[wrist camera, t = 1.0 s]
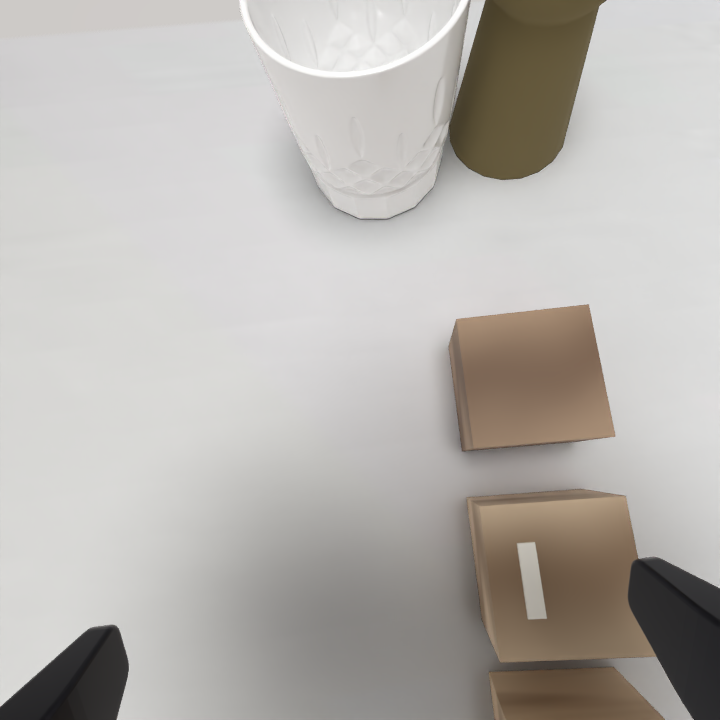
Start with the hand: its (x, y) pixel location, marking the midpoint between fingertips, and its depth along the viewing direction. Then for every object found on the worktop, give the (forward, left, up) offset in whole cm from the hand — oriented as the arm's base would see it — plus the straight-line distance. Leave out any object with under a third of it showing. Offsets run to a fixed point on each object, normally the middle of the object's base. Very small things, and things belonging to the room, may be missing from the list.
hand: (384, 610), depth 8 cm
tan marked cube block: (-2, -5, -13) cm, 15 cm away
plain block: (+5, -5, -13) cm, 15 cm away
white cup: (+18, 0, -13) cm, 23 cm away
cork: (+19, -7, -13) cm, 25 cm away
